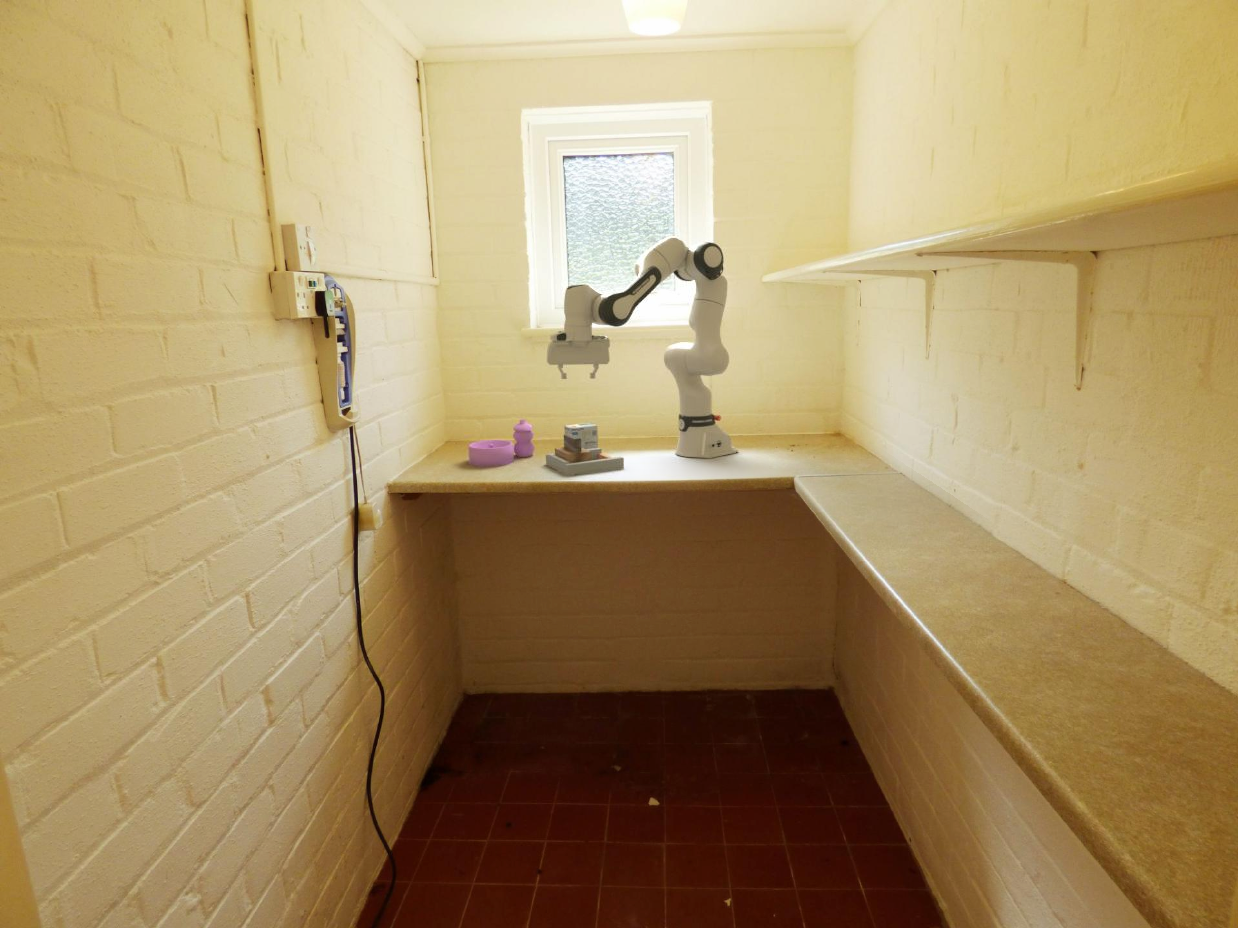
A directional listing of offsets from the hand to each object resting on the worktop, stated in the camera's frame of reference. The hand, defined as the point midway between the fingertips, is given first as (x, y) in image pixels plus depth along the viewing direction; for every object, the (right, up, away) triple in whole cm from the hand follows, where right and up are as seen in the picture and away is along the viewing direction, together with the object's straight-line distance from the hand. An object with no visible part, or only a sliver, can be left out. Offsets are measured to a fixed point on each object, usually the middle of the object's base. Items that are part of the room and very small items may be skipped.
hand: (578, 378), depth 233 cm
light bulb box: (0, -24, +26) cm, 36 cm away
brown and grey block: (-2, -29, +6) cm, 30 cm away
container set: (-27, -27, +20) cm, 43 cm away
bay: (+2, -29, +7) cm, 29 cm away
